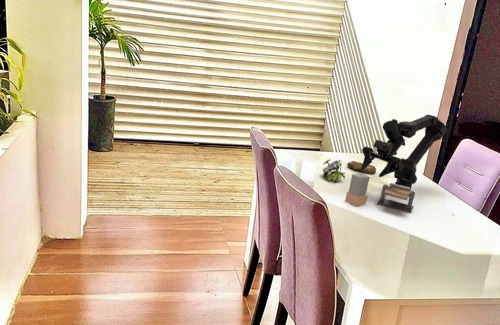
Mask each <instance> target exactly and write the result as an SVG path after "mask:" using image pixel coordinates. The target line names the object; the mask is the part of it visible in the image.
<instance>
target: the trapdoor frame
mask: <svg viewBox="0 0 500 325" xmlns="http://www.w3.org/2000/svg"><path fill="white" fill-rule="evenodd" d="M388 186H389V185H388V184H385V183H384V184H383V185H382V189H381V192H380V193H381V194H380V197H379V199H378V200H377V202H376V205H379V206H381V207H385V208H386V207H387V208H391V209H394V210H398V211H400V212H404V213H408V214H412V212H413V209H414V205H413V203H414V198H415V195H416V191H412V190H411V191H410V196H408V200H407V203H403V202H400V201H396V200H391V199H388V198H386V195H384V192H385V190H386V189H387V187H388Z"/></svg>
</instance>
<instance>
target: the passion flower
mask: <svg viewBox="0 0 500 325" xmlns="http://www.w3.org/2000/svg"><path fill="white" fill-rule="evenodd" d="M330 161H331V158H330V159H328V160H326V161H324V162H323V165H326V164H327V166H325V167H324V168H322V172H323V173H322V174H321V175H322V176H323V177H324V176H325V177H326V176H327V175H328V177H327V178H328V179H327V180H328V182H329V183H330V182H331V180H332V182H335V181H338V180H342V178H344V179H346V176H345V174H346V172H345V171H343V172H341V171H342V162H341V159H338V160H335V161H331V163H329V162H330Z"/></svg>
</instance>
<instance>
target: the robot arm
mask: <svg viewBox="0 0 500 325" xmlns="http://www.w3.org/2000/svg"><path fill="white" fill-rule="evenodd" d="M423 129H424V136H423V137H422V139H421V140H420V142H418V143H417V145H416V147H415V148H414V149H413V150H412V152H411V153H410V154H409V155H408V157H407V158H403V157H402V158H400V157H398V156H397V154H398V150H399V149H400V148H401V147H405V146H406V139H405V138H407V139H411V138H413V137H414V136H416V133H417V132H419V131H421V130H423ZM382 130H383V133H384V134H385V137H386V138H387V139H388V140H387V141H386V142H385V141H382V140H379V139H376V140H375V142H374V144H372V147H373V148H372V147H369V146H363V148H362V149H361V152H362V154H363V156H364V158H363V162H362V163H363V164H362V168H361V169H362V170H364V169H365V168H366V167H367V166H368V165H371V164H372V163H373V160H375V159H377V160H380V161H383V162H386V166H385V167H384V168H383V169H382V171H381V172H379V174H378V177H379V178H383V177H384V176H387V175H389V174H392V173H393V174H394V175H393V176H394V178H395V179H396V181H395V182H394V184H397V185H401V186H405V187H409V188H410V192H411V191H412V190H411V189H412V186H413V185H415V184H416V183H417V181H418V177H417V174H416V173H417V166H418V164H419V162H420V161H421V160H422V159H423V157H424V156H425V154H426V153H427V152H428V151H429V149H430V148H431V146H433V144H434V143H435V142H437V141H439V140H441V139H442V138H443V137H444V136H445V135H446V134H447V132H448V129H447V126H446V124H444V122H442V121H441V120H440V119H439V118H438V117H437V116H436V115H431V114H425V115H424V116H421V117H420V118H417V119H414V120H411V121H399V122H398V120H397V119H396V118H392V119H391V120H388V121H386V122H384V123H383V125H382ZM404 137H405V138H404ZM374 148H375V151H374ZM376 152H377V153H376ZM408 197H410V194H409V196H408Z"/></svg>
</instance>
